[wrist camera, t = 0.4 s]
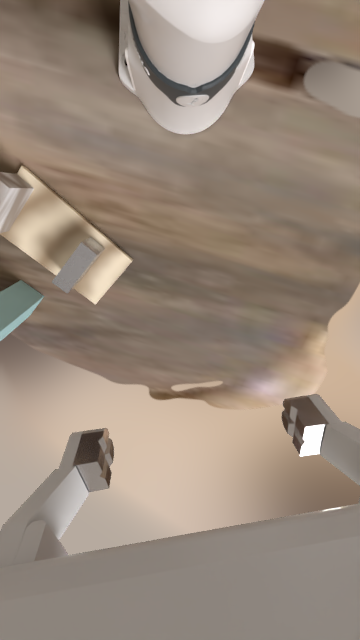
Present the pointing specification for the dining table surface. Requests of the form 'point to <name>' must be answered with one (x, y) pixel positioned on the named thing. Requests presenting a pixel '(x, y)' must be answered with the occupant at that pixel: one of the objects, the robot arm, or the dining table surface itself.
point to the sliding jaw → (78, 264)
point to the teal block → (16, 306)
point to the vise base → (55, 231)
